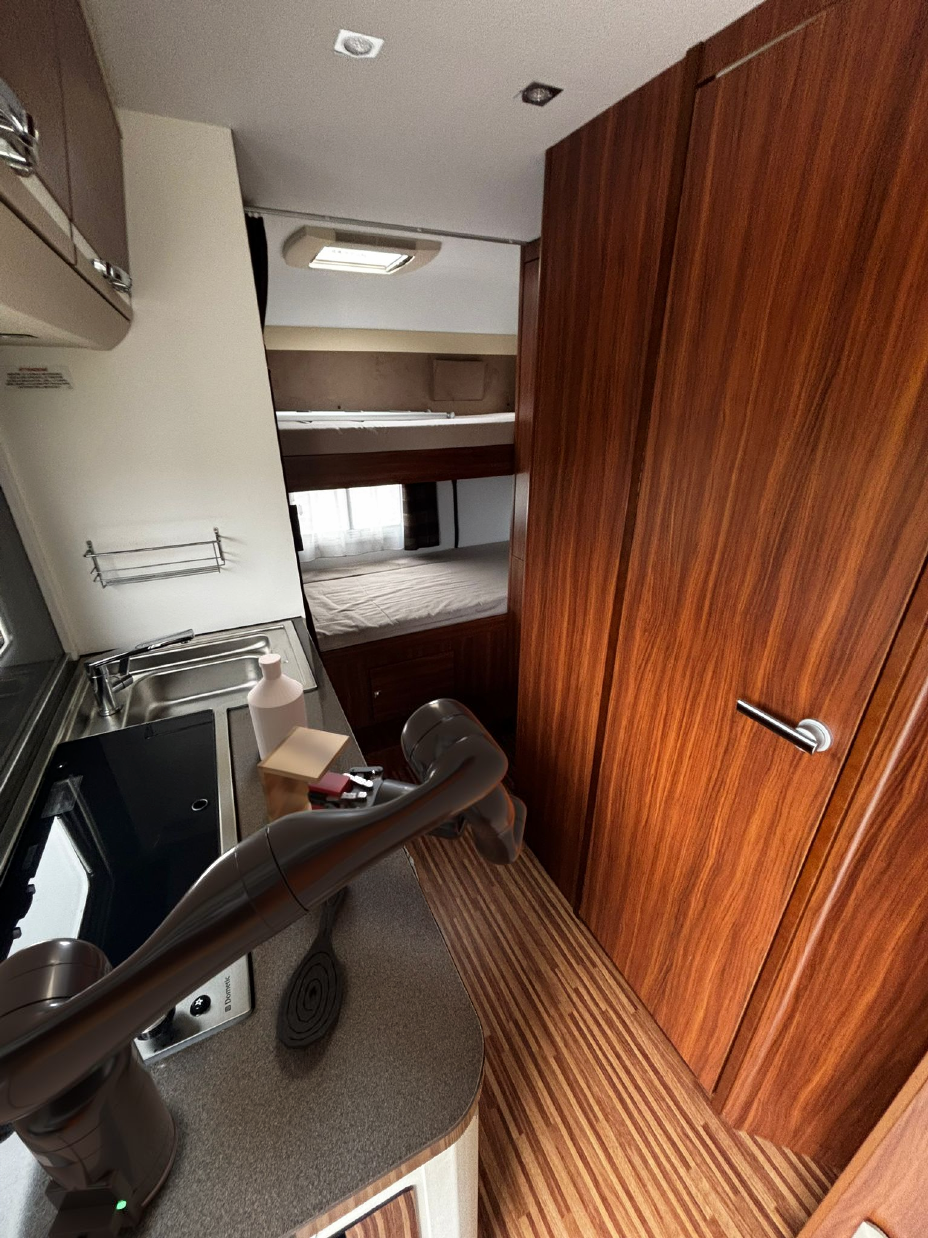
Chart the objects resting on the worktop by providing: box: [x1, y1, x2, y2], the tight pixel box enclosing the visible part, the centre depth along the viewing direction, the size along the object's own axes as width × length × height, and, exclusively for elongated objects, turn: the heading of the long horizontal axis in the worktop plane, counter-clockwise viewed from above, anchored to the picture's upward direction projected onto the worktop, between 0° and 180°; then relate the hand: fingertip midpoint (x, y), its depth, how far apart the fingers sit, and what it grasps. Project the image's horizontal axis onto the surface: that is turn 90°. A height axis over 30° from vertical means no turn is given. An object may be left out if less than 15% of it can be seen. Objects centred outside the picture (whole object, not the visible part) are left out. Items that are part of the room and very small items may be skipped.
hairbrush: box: [276, 886, 345, 1051], centre depth 74 cm, size 8×4×25 cm
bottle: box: [246, 653, 309, 761], centre depth 112 cm, size 12×12×25 cm
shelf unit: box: [257, 726, 351, 825], centre depth 89 cm, size 11×11×22 cm
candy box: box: [308, 771, 351, 810], centre depth 88 cm, size 4×6×10 cm, turn 75°
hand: (316, 786), depth 87 cm, fingers closed on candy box, 4 cm apart
